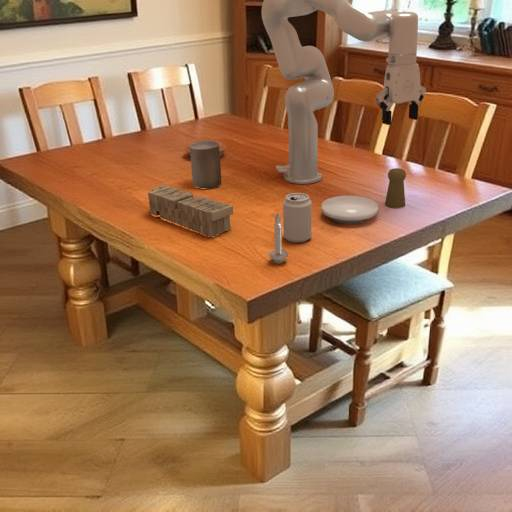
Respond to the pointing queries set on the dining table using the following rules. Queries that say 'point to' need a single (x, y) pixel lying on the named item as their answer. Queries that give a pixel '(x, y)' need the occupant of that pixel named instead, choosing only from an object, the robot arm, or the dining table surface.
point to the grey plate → (349, 209)
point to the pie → (221, 146)
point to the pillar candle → (205, 164)
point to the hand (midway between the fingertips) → (400, 121)
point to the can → (297, 217)
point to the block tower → (190, 210)
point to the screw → (278, 243)
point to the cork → (396, 188)
